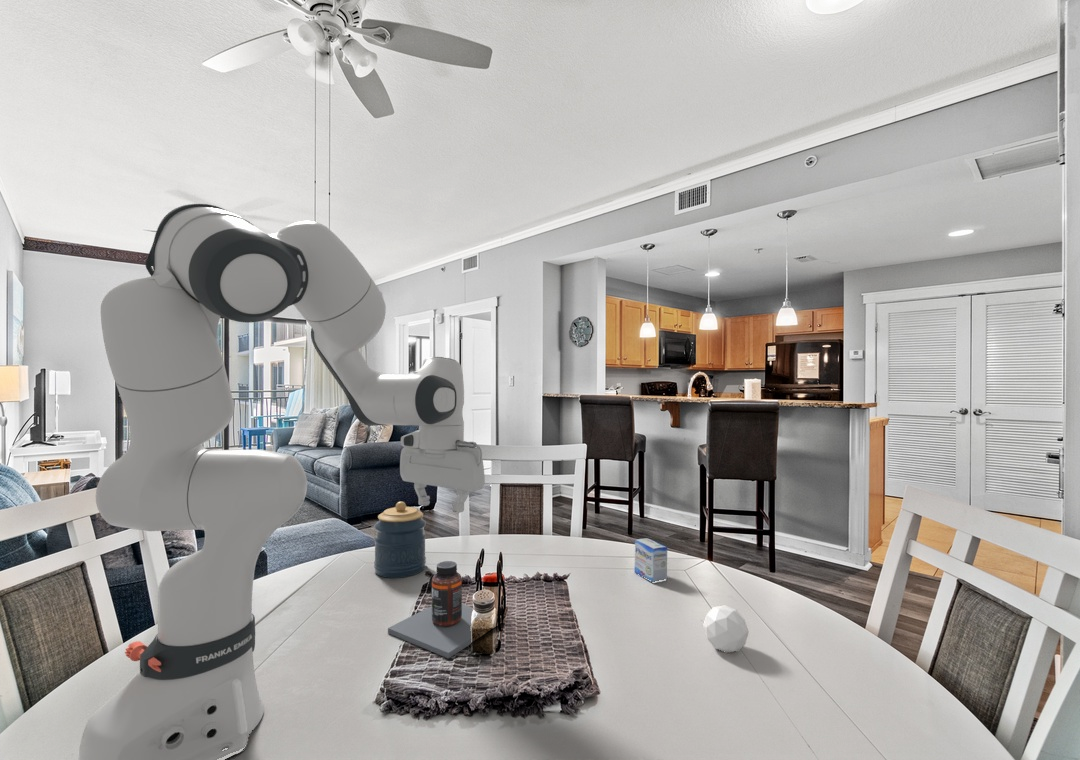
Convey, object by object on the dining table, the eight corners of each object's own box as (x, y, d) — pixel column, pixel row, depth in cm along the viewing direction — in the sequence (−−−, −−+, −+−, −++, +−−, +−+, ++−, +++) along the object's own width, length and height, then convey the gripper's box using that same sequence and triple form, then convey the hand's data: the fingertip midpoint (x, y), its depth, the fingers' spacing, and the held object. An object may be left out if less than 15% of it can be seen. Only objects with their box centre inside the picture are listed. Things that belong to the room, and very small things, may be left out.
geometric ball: (730, 659, 94) (753, 622, 95) (735, 665, 87) (759, 625, 88) (694, 631, 97) (716, 595, 98) (695, 635, 90) (719, 596, 91)
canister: (374, 563, 135) (374, 497, 135) (423, 558, 139) (424, 494, 139) (373, 581, 123) (374, 509, 123) (427, 575, 126) (428, 505, 126)
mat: (448, 658, 89) (448, 652, 89) (387, 633, 97) (387, 628, 97) (503, 622, 102) (503, 617, 102) (445, 603, 111) (446, 598, 111)
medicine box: (633, 573, 129) (634, 539, 129) (648, 570, 131) (648, 537, 131) (653, 584, 122) (653, 548, 122) (667, 581, 124) (667, 546, 124)
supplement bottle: (464, 614, 103) (465, 559, 103) (457, 628, 97) (458, 570, 97) (436, 613, 104) (436, 558, 104) (427, 627, 98) (428, 569, 98)
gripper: (492, 441, 97) (491, 512, 97) (418, 434, 108) (417, 499, 108) (470, 444, 92) (469, 519, 92) (395, 437, 103) (394, 504, 103)
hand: (440, 508), depth 100 cm, fingers open, 8 cm apart
